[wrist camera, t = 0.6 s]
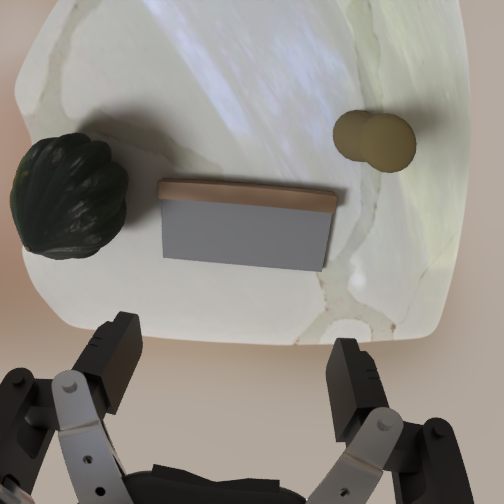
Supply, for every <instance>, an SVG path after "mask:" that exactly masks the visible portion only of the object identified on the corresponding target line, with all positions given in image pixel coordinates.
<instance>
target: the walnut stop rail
mask: <svg viewBox="0 0 504 504" xmlns="http://www.w3.org/2000/svg"><path fill="white" fill-rule="evenodd" d="M337 197H338V196H337V195H336V194H335V193H334V192H328V191H320V190H311V189H303V188H293V187H284V186H273V185H262V184H251V183H238V182H224V181H209V180H191V179H169V178H163V179H161V180H160V181H158V199H171V200H187V201H203V202H217V203H230V204H243V205H254V206H266V207H276V208H287V209H297V210H306V211H316V212H325V213H333V214H335V209H336V203H337Z"/></svg>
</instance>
